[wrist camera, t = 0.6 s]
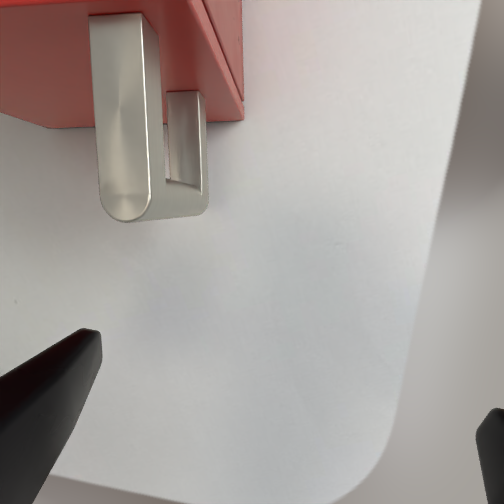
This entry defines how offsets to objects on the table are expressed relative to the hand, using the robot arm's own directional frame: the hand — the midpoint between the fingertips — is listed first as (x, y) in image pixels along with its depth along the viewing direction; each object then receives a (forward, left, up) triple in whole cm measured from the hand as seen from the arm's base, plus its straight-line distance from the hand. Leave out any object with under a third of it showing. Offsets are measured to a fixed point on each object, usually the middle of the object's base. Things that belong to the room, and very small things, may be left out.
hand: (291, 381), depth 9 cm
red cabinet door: (-3, +10, -14) cm, 18 cm away
